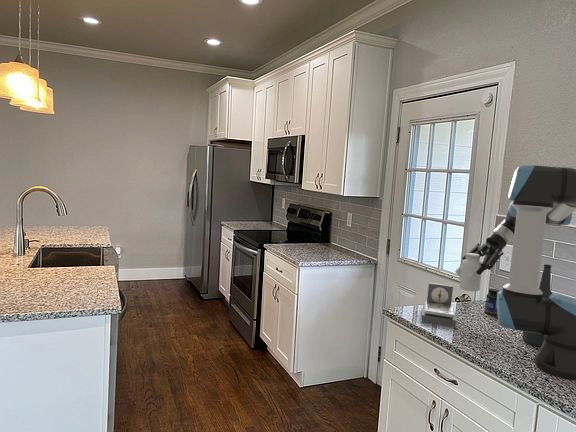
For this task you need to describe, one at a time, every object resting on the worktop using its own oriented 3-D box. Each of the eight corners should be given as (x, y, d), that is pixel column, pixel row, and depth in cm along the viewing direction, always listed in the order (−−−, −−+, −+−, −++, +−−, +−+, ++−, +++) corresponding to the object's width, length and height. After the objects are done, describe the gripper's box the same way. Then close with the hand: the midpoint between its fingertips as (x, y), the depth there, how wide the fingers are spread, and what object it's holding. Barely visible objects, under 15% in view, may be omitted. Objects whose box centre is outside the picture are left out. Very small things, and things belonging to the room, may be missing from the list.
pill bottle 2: (481, 311, 200) (484, 288, 199) (490, 310, 203) (492, 287, 202) (493, 316, 195) (496, 292, 194) (502, 314, 198) (505, 291, 197)
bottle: (550, 341, 167) (561, 264, 164) (555, 350, 158) (566, 269, 155) (520, 336, 170) (530, 260, 168) (523, 344, 161) (533, 264, 159)
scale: (455, 327, 175) (458, 296, 174) (421, 322, 179) (424, 291, 178) (453, 315, 192) (456, 286, 191) (422, 310, 196) (425, 281, 195)
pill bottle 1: (455, 286, 186) (458, 252, 185) (471, 286, 188) (474, 252, 187) (467, 292, 178) (471, 255, 177) (484, 291, 181) (487, 256, 179)
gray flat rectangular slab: (453, 317, 175) (453, 314, 175) (424, 313, 179) (425, 310, 179) (452, 308, 189) (452, 305, 188) (425, 304, 192) (425, 301, 192)
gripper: (523, 249, 176) (486, 288, 173) (486, 240, 196) (452, 276, 193) (514, 235, 174) (476, 275, 171) (477, 228, 194) (443, 264, 191)
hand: (463, 276), depth 182 cm, fingers closed on pill bottle 1, 8 cm apart
